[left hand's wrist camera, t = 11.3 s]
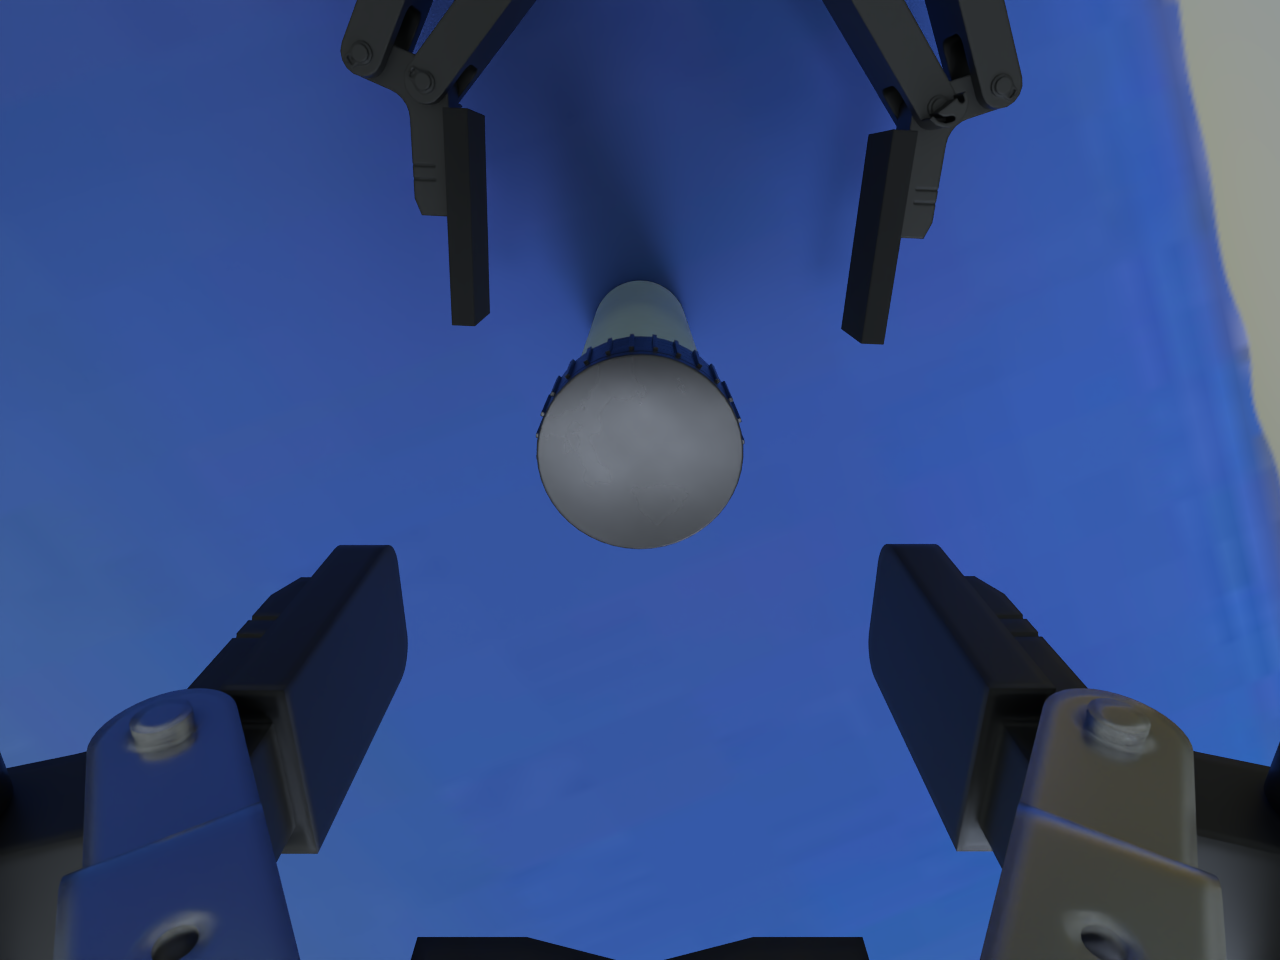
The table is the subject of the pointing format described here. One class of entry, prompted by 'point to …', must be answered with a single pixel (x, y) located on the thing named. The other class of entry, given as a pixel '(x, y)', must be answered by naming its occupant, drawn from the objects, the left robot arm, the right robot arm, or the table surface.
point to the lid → (640, 443)
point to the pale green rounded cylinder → (640, 315)
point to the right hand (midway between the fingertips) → (667, 329)
